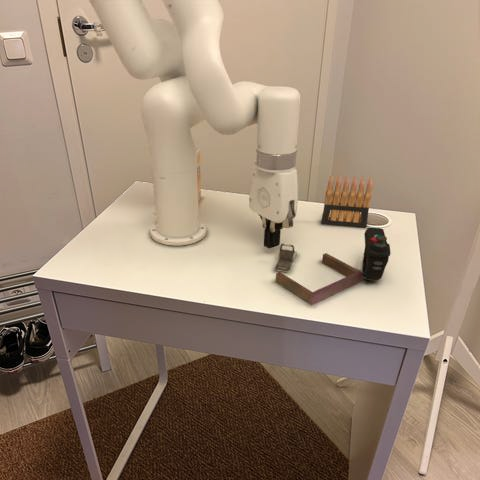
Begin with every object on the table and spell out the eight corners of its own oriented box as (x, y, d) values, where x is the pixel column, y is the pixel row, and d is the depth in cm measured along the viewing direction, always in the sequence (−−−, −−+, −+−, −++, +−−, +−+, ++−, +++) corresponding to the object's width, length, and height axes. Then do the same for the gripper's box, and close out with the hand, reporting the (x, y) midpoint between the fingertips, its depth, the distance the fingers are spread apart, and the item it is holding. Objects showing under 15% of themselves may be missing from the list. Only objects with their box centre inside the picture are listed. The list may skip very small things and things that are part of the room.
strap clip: (283, 252, 102) (285, 234, 99) (297, 254, 101) (299, 236, 98) (273, 271, 95) (275, 252, 93) (288, 273, 94) (290, 254, 92)
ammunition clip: (365, 224, 114) (375, 176, 107) (366, 228, 112) (375, 178, 105) (321, 221, 115) (327, 172, 108) (321, 224, 114) (327, 175, 106)
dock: (275, 282, 92) (275, 273, 90) (324, 261, 99) (326, 252, 98) (311, 305, 85) (312, 296, 84) (361, 281, 93) (363, 272, 91)
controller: (360, 289, 90) (370, 242, 84) (357, 259, 100) (366, 215, 94) (383, 292, 89) (395, 245, 84) (378, 261, 99) (388, 216, 93)
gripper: (236, 153, 92) (236, 238, 103) (288, 173, 83) (282, 264, 94) (265, 146, 96) (262, 229, 107) (318, 165, 87) (309, 254, 97)
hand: (271, 245), depth 100 cm, fingers closed
